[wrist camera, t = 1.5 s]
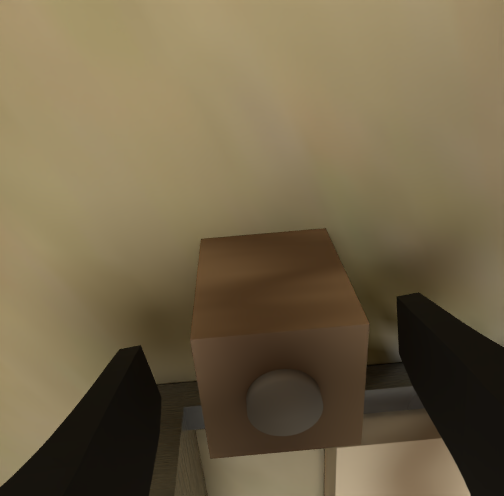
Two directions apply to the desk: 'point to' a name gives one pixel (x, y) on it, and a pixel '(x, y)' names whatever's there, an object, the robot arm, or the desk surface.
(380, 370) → the press frame
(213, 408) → the block
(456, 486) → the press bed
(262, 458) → the desk surface
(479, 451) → the robot arm
